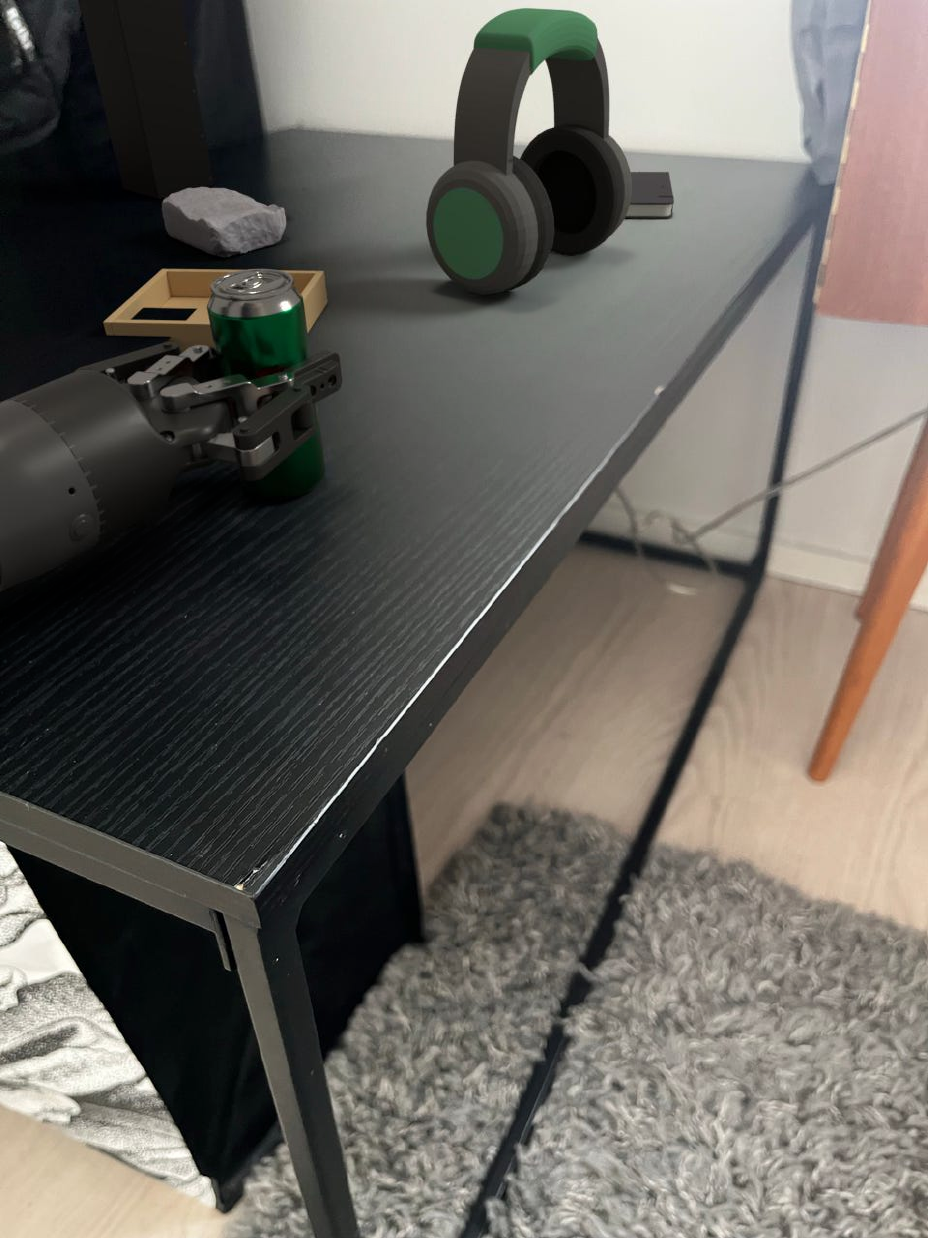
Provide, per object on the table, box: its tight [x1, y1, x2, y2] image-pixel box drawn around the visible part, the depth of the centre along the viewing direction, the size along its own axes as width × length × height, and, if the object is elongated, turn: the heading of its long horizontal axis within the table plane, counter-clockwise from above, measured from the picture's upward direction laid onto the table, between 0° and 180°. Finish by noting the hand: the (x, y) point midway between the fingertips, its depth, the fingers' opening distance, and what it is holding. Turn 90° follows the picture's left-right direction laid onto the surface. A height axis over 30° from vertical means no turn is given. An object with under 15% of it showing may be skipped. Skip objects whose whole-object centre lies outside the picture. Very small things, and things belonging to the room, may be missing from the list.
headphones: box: [425, 7, 632, 295], centre depth 79 cm, size 19×11×20 cm, turn 143°
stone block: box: [161, 187, 287, 259], centre depth 95 cm, size 12×5×10 cm
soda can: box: [207, 268, 326, 501], centre depth 53 cm, size 5×5×12 cm
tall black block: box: [77, 0, 215, 200], centre depth 103 cm, size 8×8×28 cm
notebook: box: [624, 171, 675, 219], centre depth 102 cm, size 13×2×21 cm
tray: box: [102, 268, 329, 351], centre depth 76 cm, size 14×12×3 cm
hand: (298, 356), depth 54 cm, fingers closed on soda can, 5 cm apart
